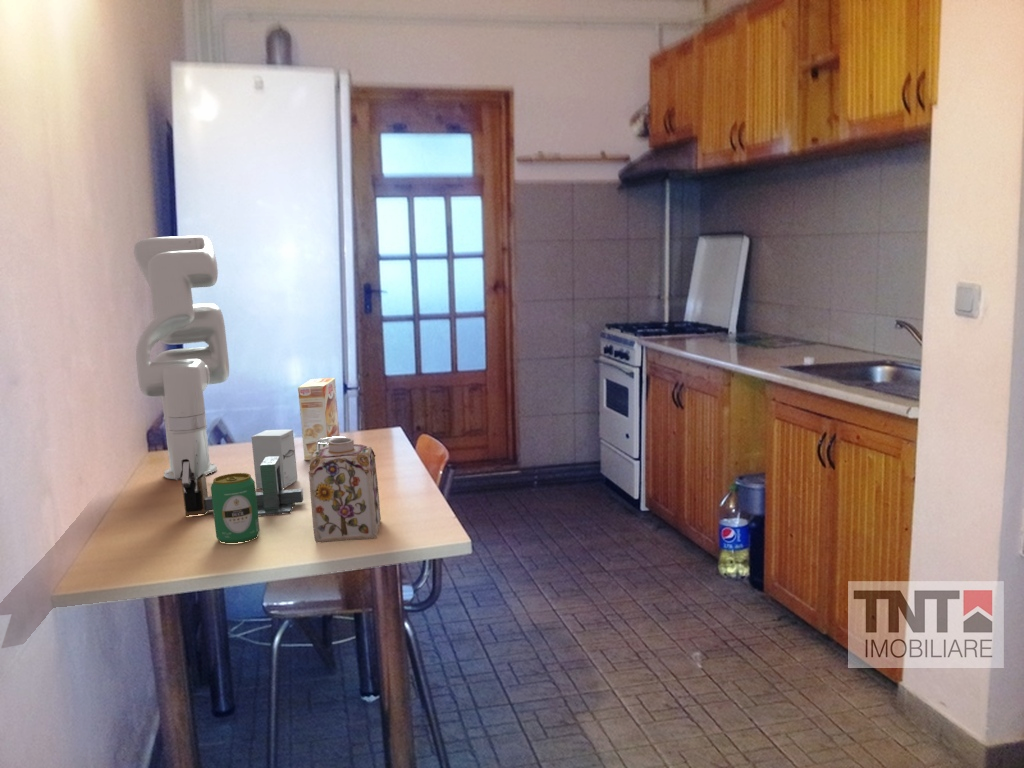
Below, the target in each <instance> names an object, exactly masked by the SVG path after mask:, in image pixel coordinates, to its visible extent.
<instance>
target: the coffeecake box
mask: <svg viewBox="0 0 1024 768" xmlns="http://www.w3.org/2000/svg"><path fill="white" fill-rule="evenodd" d="M297 391H298V401H299V402H298V403H299V414H300V415H299V416H300V425H301V436H302V447H303V461H310V460H311V456H312V454H313V453H314V451H316V441H317V440H320V439H323V438H329V437H341V436H340V422H339V412H338V411H339V410H338V400H337V398H338V397H337V389H336V378H335V377H328V378H327V377H323V378H311V379H309V380H308V381H306V382H304V383H303V384H301V385H299V386H297Z"/></svg>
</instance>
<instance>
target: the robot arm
mask: <svg viewBox="0 0 1024 768" xmlns="http://www.w3.org/2000/svg"><path fill="white" fill-rule="evenodd" d="M133 254H134V257H135V261H136V264H137V267H138V268H139V270H140V271H141V273H142V275H143V277H144V278H145V280H146V282H147V284H148V286H149V289H150V296H151V297H150V298H151V306H152V307H151V308H152V315H153V318H152V319H151V321H150V322H149V323H148V325H147V326H146V327H145V328H144V330H143V331H142V332H141V335H140V337H138V338H139V339H138V342H137V345H136V348H135V349H136V350H135V361H136V373H137V380H138V381H137V382H138V386H139V388H140V391H141V393H142V394H143V395H144V396H146V397H148V398H161V403H162V412H163V419H164V429H165V434H166V444H167V445H166V446H167V454H168V460H169V461H168V462H169V468H168V469H166V470H165V471H164V472H163V475H164V478H166V479H167V480H176V481H180V480H182V481H181V485H182V484H183V487H184V497H185V505H186V511H187V512H192V511H201V510H202V500H201V492H199V487H198V477H199V476H201V474H205V475H206V474H209V473H211V474H213V473H212V472H214V471H215V472H216V471H217V470H218V465H217V464H216V463H212V462H211V461H210V453H209V443H208V441H209V440H208V435H207V428H208V425H207V418H206V417H207V416H206V407H205V399H204V391H205V390H206V389H207V387H208V386H209V385H216V384H217V385H218V384H221V383H224V382H226V381H227V380H228V378H229V376H230V375H229V374H230V363H229V360H230V359H229V352H228V343H227V335H226V333H227V332H226V325H225V319H224V315H223V312H222V310H221V308H220V307H219V306H218V305H216V304H215V303H194V300H193V293H192V289H197V288H209V287H214V286H215V285H216V283H217V281H218V274H219V272H218V271H219V270H218V263H217V259H216V258H217V257H216V254H215V249H214V245H213V243H212V242H211V240H210V238H208V236H204V235H183V236H179V235H178V236H159V237H157V236H156V237H148V238H143V239H140V240H138V241H136V243H135V244H134V246H133ZM158 342H160V343H162V344H165V345H183V344H186V345H187V344H197V343H205V344H207V345H208V346H200V347H185V348H175V349H169V350H165V351H162V352H160V353H159V354H157V356H156V357H155V358H154V361H153V362H151V359H150V357H151V351H152V349H153V347H154V346H155V345H156V344H157V343H158ZM215 472H214V473H215ZM190 475H194V477H195V478H190ZM209 475H210V474H209ZM206 476H207V475H206ZM191 481H194V484H193V482H191Z"/></svg>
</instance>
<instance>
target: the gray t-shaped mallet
mask: <svg viewBox="0 0 1024 768" xmlns="http://www.w3.org/2000/svg"><path fill="white" fill-rule="evenodd" d="M190 478H195V477H194V475H190ZM180 480H181V482H182V479H180ZM191 482H193V484H194V481H191ZM181 487H182V495H183V505H184V514H185V517H186V516H189V515H198V514H205V513H206V512H207V511H208V512H210V511H213V503H212V495H210V496H209V495H208V494H209V493H208V485H207V475H205V474H201V476H199V477H198V487H199V492H201V500H202V510H201V511H192V512H187V511H186V505H185V497H184V487H183V484H182V483H181ZM279 499H280V504H289V503H294V504H297V503H303V501H304V491H303V488H295V489H294V488H293V489H283V490H279ZM256 500H257V506H264V499H263V491H260V492H259V491H258V492H256Z"/></svg>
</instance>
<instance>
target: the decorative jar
mask: <svg viewBox="0 0 1024 768" xmlns="http://www.w3.org/2000/svg"><path fill="white" fill-rule="evenodd" d="M309 461H310V463H309V466H308V467H309V468H308V469H309V470H308V473H307V474H308V478H309V479H308V480H309V492H310V493H309V494H310V503H311V518H312V528H313V538H314V541H315V542H316V543H317V542H321V543H331V542H341V541H342V542H343V541H345V542H346V541H355V540H356V541H357V540H368V539H376V538H377V537H378V532H379V529H380V526H381V521H382V518H381V508H380V504H381V503H380V495H379V493H380V492H379V484H378V483H379V482H378V475H377V473H378V472H377V466H376V465H377V464H376V454H375V451H374V449H373V448H372V447H371V446H368V445H365V444H358V443H357V444H355V443H354V439H353V438H350V437H346V438H338V439H332V440H330V441H329V447H327V448H323V449H320V450H317V451H314V453H313V454H312V456H311V460H309Z"/></svg>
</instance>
